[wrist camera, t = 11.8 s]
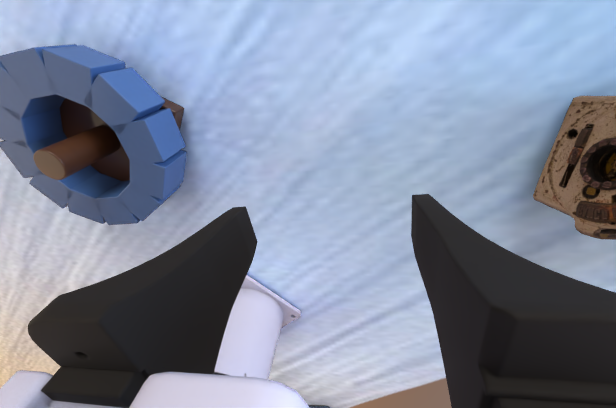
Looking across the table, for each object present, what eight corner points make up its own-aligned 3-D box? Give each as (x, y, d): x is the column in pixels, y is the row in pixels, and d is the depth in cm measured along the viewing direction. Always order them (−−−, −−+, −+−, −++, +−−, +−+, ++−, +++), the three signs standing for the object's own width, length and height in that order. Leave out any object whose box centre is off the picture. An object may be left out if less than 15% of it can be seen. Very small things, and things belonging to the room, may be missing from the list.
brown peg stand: (165, 200, 25) (117, 245, 20) (63, 154, 24) (-14, 189, 19) (184, 107, 20) (127, 135, 15) (58, 45, 19) (-48, 52, 14)
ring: (89, 209, 25) (61, 228, 23) (-9, 64, 19) (-60, 70, 17) (208, 199, 23) (191, 219, 20) (138, 29, 17) (102, 30, 14)
